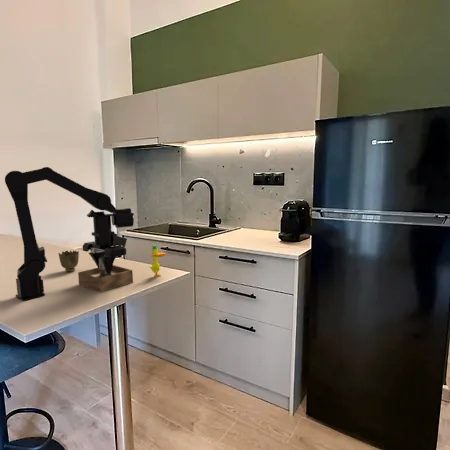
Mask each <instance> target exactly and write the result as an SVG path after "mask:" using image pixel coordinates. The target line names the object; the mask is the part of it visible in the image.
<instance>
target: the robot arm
mask: <svg viewBox="0 0 450 450" xmlns="http://www.w3.org/2000/svg"><path fill="white" fill-rule="evenodd" d="M43 181H48V182H50V183H52V184H54V185H55V186H57V187H59V188H62V189H64V190H66V191H67V192H69V193H72V194H74V195H75V196H77V197H80V198H81V199H82V200H83V201H85V203H87V204H88V205H90V206H91V207H93V208H94V209H96V210H99V211H95V210H94V209H90V211H89V212H88V213H87V214H86V217H87V218H93V220H92V221H93V232H92V231H91V236H93V237H94V241H88V242H84V243H83V245H82V251H83V252H86V253H87V252H88V254H89V256H90V257H91V259H92V261H93V262H94V263H95V265H96V266H97V267H96V268H99V259H98V258H99V257H101V259H102V261H103V264H104V267H105V270H106V272H107V274H110V273H111V269H112V266H113V265H114V262H115V260H116V258H117V257H121V256H125V255H127V254H128V253H127V248H126V245H127V239H128V238H126V237H122V236H118V234H117V233H115V231H112V226H114V227H115V228H116V229H121V228H132V227H133V226H134V223H135V222H134V216H133V213H132V209H131V208H130V207H127V208H120V209H119V208H118V209H117V208H116V207H115V205H114V204H112V199H111V197H110V196H109V195H108V194H106V193H103V192H100V191H98V190H95V189H92V188H91V189H90V188H88V187H86V186H84V185H81V184H80V183H78V182H76V181H74V180H73V179H71V178H69V177H66V176H65V175H64V174H61V173H59V172H57V171H55V170H54V169H52V168H51V167H48V166H44V167H42V168H38V169H35V170H29V171H25V172H22V171H19V170H12V171H9V172H7V173H6V175H5V176H4V183H5V185H6V188H7V190H8V192H9V194H10V197H11V198H12V201H13V203H14V207H15V212H16V217H17V221H18V225H19V229H20V234H21V238H22V243H23V264H21V266H20V267H19V268H17V270H16V271H17V272H16V273H17V274H16V277H17V278H15V281H16V283H15V284H16V291H17V292H16V294H15V297H16V298H18V300H19V299H20V300H21V301H23V302H24V301H28V300H32V299H35V298H40V297H42V296H45V295H46V293H45V288H44V287H45V286H44V280H43V279H42V276H41V275H40V273H42V272H43V271H44V269H45V268H46V263H48V259H47V257H46V254H45V253H46V250H45V247H44V246H41V247H40V246H39V244H38V243H37V238H36V234H35V228H34V223H33V219H32V215H31V210H30V205H29V202H28V201H29V198H28V196H29V192H28V189H29V188H28V185H30V184H34V183H37V182H43ZM104 211H105V212H108V213H105V212H104ZM89 251H90V252H89Z"/></svg>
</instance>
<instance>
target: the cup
mask: <svg viewBox="0 0 450 450" xmlns="http://www.w3.org/2000/svg"><path fill="white" fill-rule="evenodd" d="M58 257H59V262H60V265H61V267H62V268H64V271H65V272H66V273H73V272H75V271H76V268H77V266H78V264H79V257H80V251H78V250H69V251H68V250H65V251H63V250H62V252H58Z"/></svg>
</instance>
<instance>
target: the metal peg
mask: <svg viewBox="0 0 450 450" xmlns="http://www.w3.org/2000/svg"><path fill="white" fill-rule="evenodd" d="M98 259H99V274H100V278H102V277H106V276H110V275H112V274H111V273H110V274H107V272H106V270H105V267H104V264H103V261H102V259H101V257H99V258H98Z"/></svg>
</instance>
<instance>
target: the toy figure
mask: <svg viewBox="0 0 450 450" xmlns="http://www.w3.org/2000/svg"><path fill="white" fill-rule="evenodd" d="M151 247H152V248H151V249H152V250H151V252H152V254H151V255H150V257H151V258H152V262H153V263H152V264H151V265H150V266H148V267H149V269H150V270H151V271H152V272H153V273H154V278H158V276H159V277H161V274H160V273H159V272H160V268H161V267H160V263H158V260H159V259H158V258H162V257H165V256H166V255H167V254H166V253H165V252H159V251H158V247H157V245H155V244H154V245H152V246H151Z"/></svg>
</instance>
